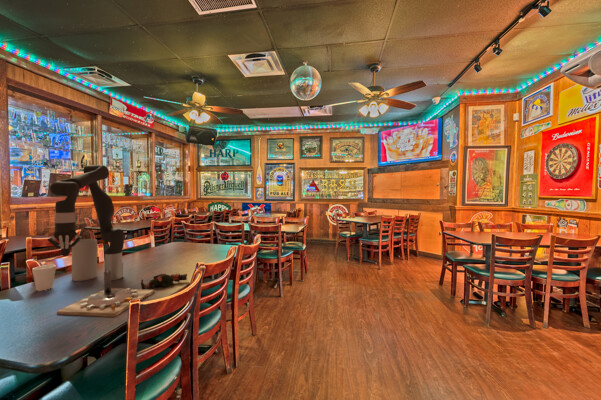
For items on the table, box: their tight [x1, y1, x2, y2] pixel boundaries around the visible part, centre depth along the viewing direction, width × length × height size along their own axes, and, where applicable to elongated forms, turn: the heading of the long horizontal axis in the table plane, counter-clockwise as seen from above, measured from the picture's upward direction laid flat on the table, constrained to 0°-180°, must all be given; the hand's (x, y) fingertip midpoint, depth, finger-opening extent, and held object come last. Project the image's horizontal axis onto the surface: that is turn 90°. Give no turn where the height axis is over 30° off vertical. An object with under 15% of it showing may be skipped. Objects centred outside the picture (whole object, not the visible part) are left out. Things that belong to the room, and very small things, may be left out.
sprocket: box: [80, 271, 138, 310], centre depth 126 cm, size 24×24×12 cm
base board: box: [56, 287, 155, 318], centre depth 126 cm, size 28×28×3 cm
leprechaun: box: [140, 272, 188, 289], centre depth 151 cm, size 11×10×25 cm
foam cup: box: [31, 264, 57, 292], centre depth 142 cm, size 10×9×13 cm
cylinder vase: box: [71, 238, 98, 282], centre depth 160 cm, size 12×12×25 cm
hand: (65, 255), depth 121 cm, fingers closed
